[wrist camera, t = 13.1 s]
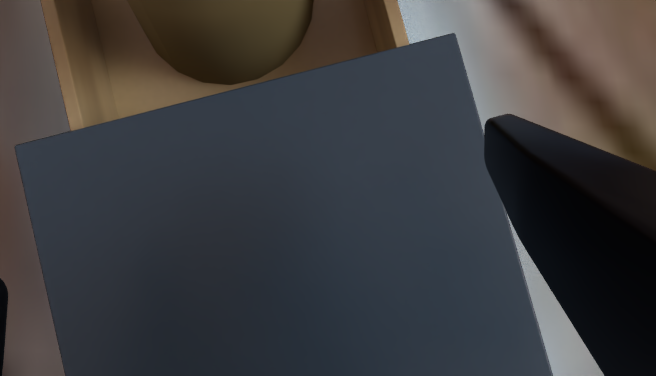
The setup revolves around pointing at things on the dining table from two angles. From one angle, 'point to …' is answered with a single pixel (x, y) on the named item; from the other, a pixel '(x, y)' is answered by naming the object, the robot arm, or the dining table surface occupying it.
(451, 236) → the cabinet
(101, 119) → the drawer
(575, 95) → the dining table surface
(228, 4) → the pawn game piece
